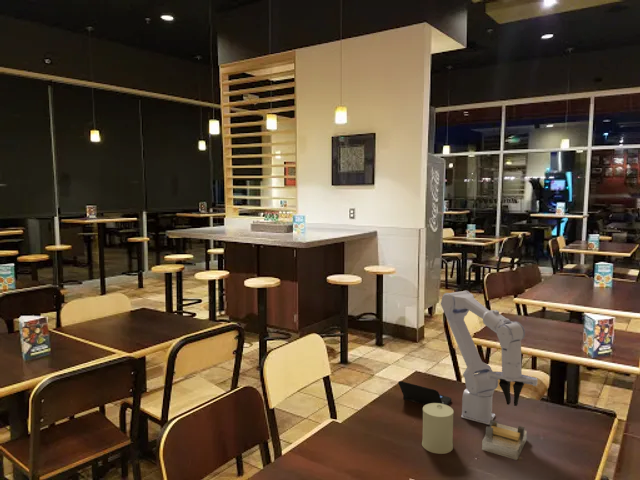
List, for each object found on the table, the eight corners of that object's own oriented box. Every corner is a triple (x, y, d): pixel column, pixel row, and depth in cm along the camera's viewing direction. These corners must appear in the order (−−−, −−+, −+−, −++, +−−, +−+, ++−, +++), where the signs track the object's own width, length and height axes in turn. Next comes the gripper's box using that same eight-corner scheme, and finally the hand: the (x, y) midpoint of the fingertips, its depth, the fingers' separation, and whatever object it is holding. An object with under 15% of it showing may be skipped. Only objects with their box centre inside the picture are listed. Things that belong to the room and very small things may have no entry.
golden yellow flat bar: (488, 432, 147) (488, 429, 147) (491, 428, 150) (491, 425, 149) (517, 440, 142) (517, 437, 142) (519, 436, 145) (520, 433, 145)
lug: (517, 435, 146) (517, 428, 145) (518, 433, 147) (518, 425, 147) (523, 437, 145) (523, 429, 145) (524, 434, 146) (524, 427, 146)
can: (453, 440, 149) (454, 403, 148) (451, 456, 140) (452, 417, 139) (423, 435, 152) (424, 399, 151) (420, 450, 143) (420, 412, 142)
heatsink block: (481, 449, 144) (482, 432, 143) (493, 431, 154) (493, 415, 154) (517, 460, 138) (517, 442, 137) (526, 440, 149) (527, 423, 148)
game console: (452, 401, 176) (453, 378, 175) (437, 416, 165) (437, 391, 164) (414, 390, 185) (414, 368, 184) (397, 404, 174) (397, 380, 173)
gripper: (484, 361, 150) (485, 404, 151) (534, 368, 142) (534, 413, 143) (490, 355, 156) (491, 396, 157) (538, 361, 148) (539, 405, 149)
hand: (512, 404), depth 150 cm, fingers closed
